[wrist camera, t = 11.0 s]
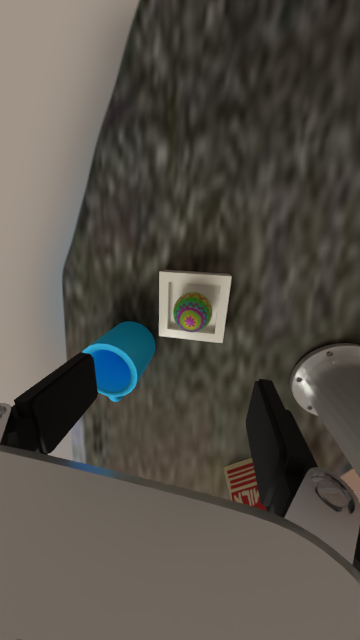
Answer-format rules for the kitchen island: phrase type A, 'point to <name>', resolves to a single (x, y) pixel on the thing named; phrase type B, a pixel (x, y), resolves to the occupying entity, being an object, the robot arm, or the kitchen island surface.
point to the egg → (192, 312)
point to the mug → (121, 358)
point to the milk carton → (243, 483)
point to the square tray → (188, 281)
